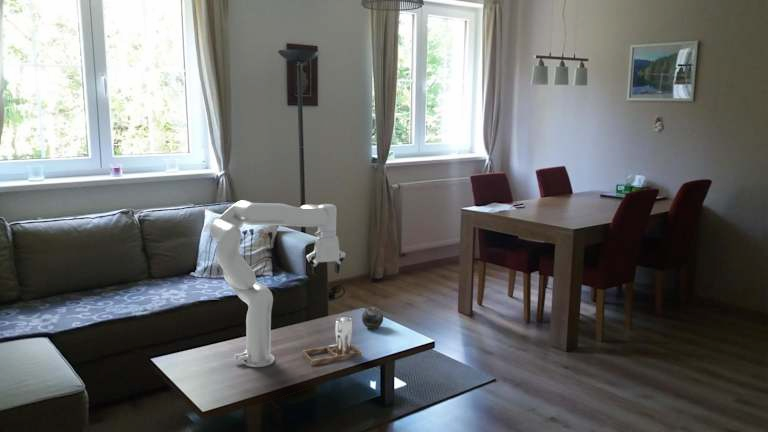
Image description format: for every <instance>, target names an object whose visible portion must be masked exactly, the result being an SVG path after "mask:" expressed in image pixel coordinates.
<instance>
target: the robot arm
mask: <svg viewBox="0 0 768 432" xmlns="http://www.w3.org/2000/svg"><path fill="white" fill-rule="evenodd" d="M337 212H338V211H337V206H336V205H335V204H331V203H322V204H311V203H309V204H303V205H301V206H300V207H299V206H293V205H289V204H286V203H280V202H278V203H277V202H275V203H273V202H272V203H270V202H268V203H267V202H266V203H264V202H251V201H249V200H245V199H242V200H239V201H237V202H236V203H234V204H232V205H231V206H230V207H229V208H228V209H226V210H225V211H224V212H223V213H222V214H221V215H220V216H218V217H217V218H216V219H215V220H214V221H213V222H212V223H211V226H210V228H209V233H210V236H211V237H212V239H213V240H215V241H216V242H217V246H216V251H215V256H216V260H217V263H218V265H220V267H221V269H222V275H223V278H224V280H225V281H226V283H227V284H228V285H229V287H230V288H231V290H233V292H234V293H235V294H236V296H238V298H239V299H240V300H241V301H242V302H244V303H246V305H247V306H248V308H247V309H248V310H247V312H246V319H245V323H246V324H245V326H246V330H245V332H246V333H245V334H246V339H245V340H246V341H245V342H246V343H245V344H246V346H245V347H246V348H245V349H243V352H241V353H234V354H233V356H234V357H233V358H234V360H239V361H241V362H242V364H244V365H245V366H247V367H250V368H262V367H268V366H270V365H272V364H274V362H275V356H274V355H273V354H272V353H271V349H272V348H271V347H272V346H271V345H272V344H271V341H272V339H271V336H272V335H271V333H272V332H271V330H272V329H271V328H272V327H271V326H272V325H271V324H272V309H273V303H274V297H273V293H272V291H271V290H270V289H269V288H268V287H267V286H265V285H264V284H262V283H261V282H259V281H257V280H256V279H257V277H256V274H255V271H254V269H252V268H251V266H250V265H249V263H248V262H247V261H246V259H245V258H244V257H243V256H242V254H241V253H240V250H239V247H240V243H241V240H242V231H241V229H240V226H241V225H242V224H245V225H248V226H284V227H300V228H301V227H302V228H316V227H317V231H314V236H316V237H315V242H314V248H313V251H312V252H310V253H309V254H307V255H306V256H305V257H306V259H307V261H308V263H310V264H311V267H312V268H311V272H312V275H314V276H316V277H317V276H318V264H319V263H328V262H334V269H333V270H334V273H335V274H339V273H340V271H341V270H340V268H341V267H340V265H341V263H343V261H344V260H345V257H346V255H347V254H346V252H344V251H342V250H340V242H339V237H338V236H337ZM312 258H313V260H312Z"/></svg>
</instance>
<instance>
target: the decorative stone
mask: <svg viewBox="0 0 768 432" xmlns="http://www.w3.org/2000/svg"><path fill="white" fill-rule="evenodd" d="M361 320H362V321H361V322H362V324H363V325H364V326H365V327H366V328H367V329H373V330H374V329H377V328H379V327H380V326H381V325H382V324H383V322H384V315H383V313H382V310H381V309H379V308H378V307H376V306H369V307H368V308H366V309H364V311H363V312H362V316H361Z"/></svg>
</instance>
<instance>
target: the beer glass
mask: <svg viewBox="0 0 768 432" xmlns="http://www.w3.org/2000/svg"><path fill="white" fill-rule="evenodd" d="M334 327H335V331H334V333H335V339H336V341H335V342H336V344H337V350H336V351H335V354H336V355H337V356H338V355H344V354H350V353H351V349H350V343H351V340H352V336H353V335H352V334H353V319H351V318H350V317H345V316H343V317H338V318H336V320H335V326H334Z"/></svg>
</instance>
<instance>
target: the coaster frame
mask: <svg viewBox="0 0 768 432" xmlns="http://www.w3.org/2000/svg"><path fill="white" fill-rule="evenodd" d="M333 350H336V351H337V343H336V344H332V345H331V344H330V345H328V346H323V347H317V348H311V349H304V350H301V356H302V357H303V358H304V360H306V361H307V362H308V363H309V365H311V366H316V365H317V366H319V365H322V364H328V363H334V361H335V362H340V361H339V360H341V361H345V360H346V359H347V360H352V359H356V358H357V359H358V358H361V357H362V353H363V352H362V351H361V350H359V348H357V347H356V346H355V345H353V344H352V342H350V351H352V352H350V354H344V355H338V356H337V355H336V352H334V351H333ZM322 353H326V354H328V355H329V356H327V357H321V358H316V359H315V358H314V359H313V358H312V357H311V355H317V354H322Z"/></svg>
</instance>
